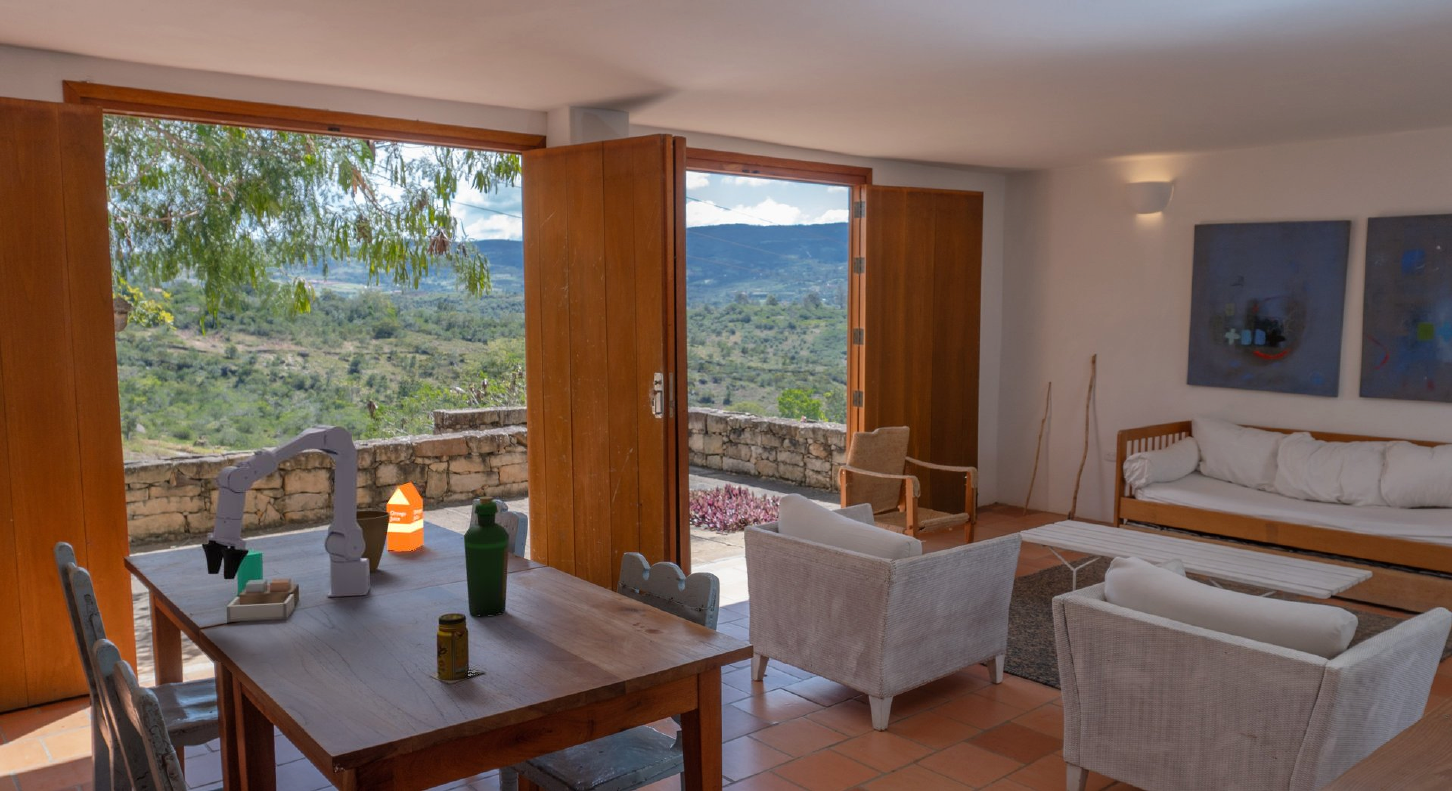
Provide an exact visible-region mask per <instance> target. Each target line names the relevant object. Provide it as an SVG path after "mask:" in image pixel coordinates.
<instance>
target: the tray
mask: <svg viewBox="0 0 1452 791" xmlns="http://www.w3.org/2000/svg"><path fill="white" fill-rule="evenodd" d="M294 610H295V606H294V594H290V596H289V597H288V598H287V599H286V601H285V602H284V603H274V604H253V605H240V597H239V596H235V597H234V599H233V600H231V601H230V603H229V604H228V605H227V606H226V622H227V623H233V622H251V621H269V620H270V621H271V620H287V619H288V618H289V617H290V615H291V614H292V612H293V611H294Z"/></svg>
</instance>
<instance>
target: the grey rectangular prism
mask: <svg viewBox="0 0 1452 791" xmlns="http://www.w3.org/2000/svg"><path fill="white" fill-rule="evenodd" d="M267 585H268V579H263V580H249V581H248V582H247V583H246V592H264V591H265V589H266V588H267Z"/></svg>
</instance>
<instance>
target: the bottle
mask: <svg viewBox="0 0 1452 791" xmlns="http://www.w3.org/2000/svg"><path fill="white" fill-rule="evenodd" d="M478 498H479V501H478V502H476V504H475V507H474V513H475V514H476V518H477V523H475V524H473V525H472V526H470V527H469V528H468V529H467V531H466V532H465V534H464V535H463V542H464V555H465V557H464V558H465V568H466V569H465V570H466V571H465V572H466V583H467V584H466V586H467V599H468V600H467V601H468V611H469V614H471V615H473V616H476V615H480V616H479V617H483V616H486V617H489V616H488V615H494V616H497V615H496V614H498V615H500V614H502V613H504V612H505V611H506V606H507V605H506V604H507V587H508V586H507V585H508V584H507V582H508V567H509V566H508V565H509V564H508V563H509V560H508V559H509V542H510V535H509V533H508V532H507V530H506V529H505V527H504V526H502V525H501V524H499V523H497V522H496V514H497V513H499V510H498V507H497V502H495V501H494V497H493V496H480V497H478ZM499 613H500V614H499Z"/></svg>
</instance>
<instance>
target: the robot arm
mask: <svg viewBox="0 0 1452 791" xmlns="http://www.w3.org/2000/svg"><path fill="white" fill-rule="evenodd" d="M308 449H315V450H318V451H322V452H324V453H325V454H326V455H328V457H330V458H331V459H332V460H333V461H334V484H333V485H334V488H333V489H334V492H333V494H334V495H333V522H331V524H330V525H328V528H327V535H326V538H325V540H324V549H325V551H326V553H327V554H329V559H330V561H329V562H330V563H329V565H330V568H329V569H330V572H329V573H330V590H329V592H328V593H327V595H326V597H327V598H331V597H332V598H333V597H352V596H366V595H367V594H368V592H369V590H370V588H371V580H370V576H371V574H370V573H371V572H369V559H368V558H361V556H362V554H363V553H364V551H365V541H364V539H363V536H362V529H361V527H360V526H359V525H358V523H357V522H356V511H357V509H358V508H357V504H358V502H357V501H358V500H357V496H358V466H359V465H358V464H359V463H358V462H359V461H358V459H359V458H358V456H359V454H358V451H357V449H356V446H355V443H354V442H353V434H352V433H351V432H350V431H349V430H347V429H346V428H345V427H343V426H341V425H340V426H339V425H328V424H322V423H316V424H314V425H312V426H311V427H308V428H305V429H304V430H303V431H301V432H300V433H299V434H297V435H296V436H293V437H292V438H290V439H288V440H287V441H286V442H284V443H282V444H281V445H279V446H277V447H275V448H274V449H272V450H268V449H262V450H261V449H257V450H254V451H253V453H254V454H252V455H250V456H249V457H248V458H245V459H244V460H238V461H236V462H235V464H236V465H235V466H232V465H231V466H230V465H229V466H226V467H223V468H221V470H220V472H219V473H218V476H215V483H216V486H217V487H218V489H219V490H218V498H217V505H216V512H215V519H214V520H215V521H214V528H213V532H207V535H206V542H207V543H205V542H203V543H201V547H202V549H203V551H204V555H205V559H206V566H207V568H206V569H207V573H208V574H207V575H218V574H219V573H220V570H221V567H222V562H223V580H235V577H237V576H236V575H237V571H238V568H239V566H240V564H241V562H242V561H243V559H244V558H245V556H246V555H247V554H248V551H249V549H246V547H247V546H246V545H247V540H244V539H243V538H242V537H241V534H242V527H243V518H244V512H245V511H244V510H245V506H246V505H245V504H246V498H247V497H246V496H247V491H249V490H250V489H251V488H252V487H253V485H254V483H255V482H257V481H259V480H261V479H263V478H265V477H266V476H269V475H270V474H271V473H273V472H275V471H277V470H278V468H279V464H280V463H281V462H284V461H286V460H287V459H290V458H292V457H294V456H296V455H298V454H300V453H302V452H303V451H306V450H308Z"/></svg>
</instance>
